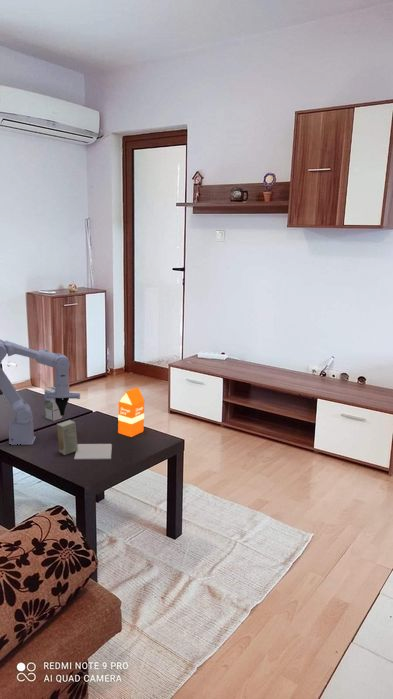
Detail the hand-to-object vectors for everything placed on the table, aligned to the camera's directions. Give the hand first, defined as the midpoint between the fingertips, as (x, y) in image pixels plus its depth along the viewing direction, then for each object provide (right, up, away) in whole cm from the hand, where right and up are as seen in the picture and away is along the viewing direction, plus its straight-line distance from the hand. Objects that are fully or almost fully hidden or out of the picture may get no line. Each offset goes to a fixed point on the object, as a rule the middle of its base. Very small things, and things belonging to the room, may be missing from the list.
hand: (62, 414), depth 214 cm
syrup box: (-11, -5, +24) cm, 27 cm away
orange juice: (+27, -10, +13) cm, 32 cm away
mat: (+15, -14, -10) cm, 23 cm away
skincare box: (+5, -13, -11) cm, 18 cm away
